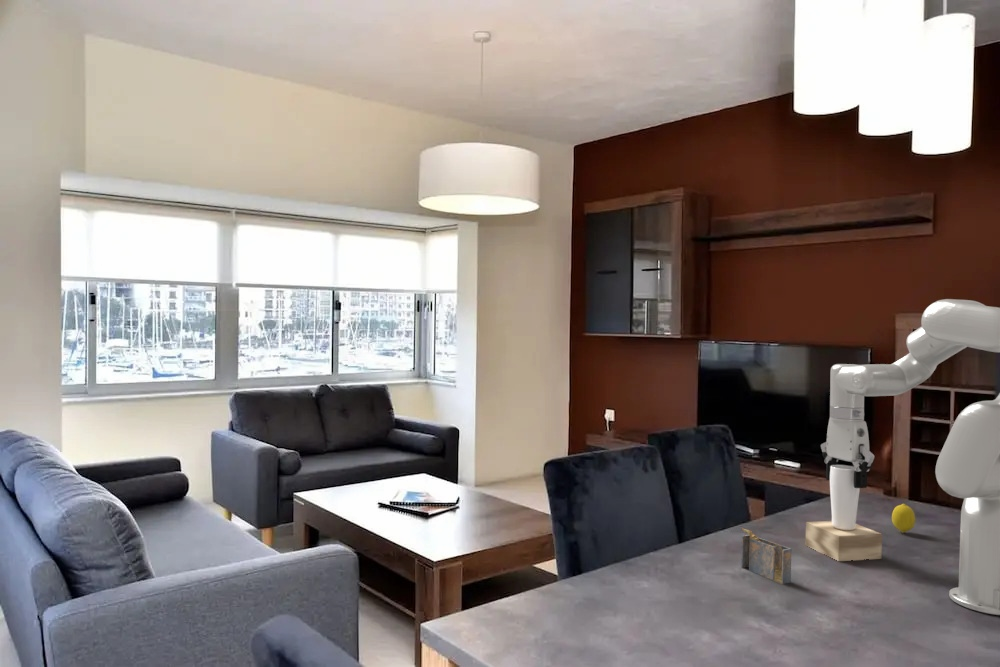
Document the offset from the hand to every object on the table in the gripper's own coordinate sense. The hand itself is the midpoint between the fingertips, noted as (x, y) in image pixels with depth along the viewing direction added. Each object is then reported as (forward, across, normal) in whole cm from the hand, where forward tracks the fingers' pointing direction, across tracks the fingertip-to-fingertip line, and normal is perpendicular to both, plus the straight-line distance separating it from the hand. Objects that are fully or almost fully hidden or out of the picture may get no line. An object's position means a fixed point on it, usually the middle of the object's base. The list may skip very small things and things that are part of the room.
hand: (845, 483), depth 173 cm
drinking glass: (+11, 0, 0) cm, 11 cm away
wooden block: (+17, +1, 0) cm, 17 cm away
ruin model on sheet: (+18, -10, +29) cm, 36 cm away
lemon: (+17, +13, -29) cm, 36 cm away
